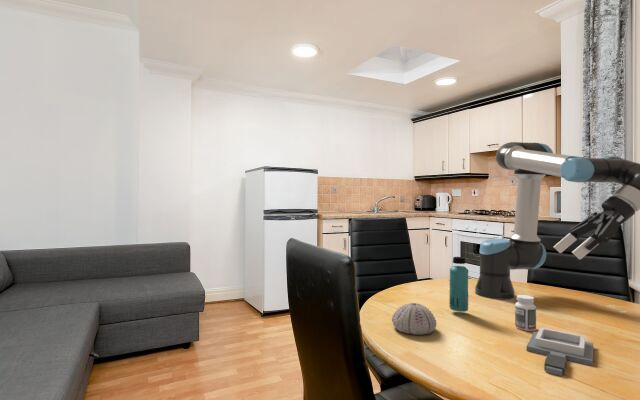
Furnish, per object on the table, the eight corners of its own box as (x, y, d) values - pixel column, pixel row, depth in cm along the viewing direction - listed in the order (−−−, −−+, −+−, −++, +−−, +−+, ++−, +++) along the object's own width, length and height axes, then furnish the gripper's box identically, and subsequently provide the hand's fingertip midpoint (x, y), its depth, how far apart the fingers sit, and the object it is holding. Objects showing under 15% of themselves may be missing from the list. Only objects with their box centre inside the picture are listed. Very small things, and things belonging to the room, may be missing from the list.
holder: (519, 365, 87) (519, 352, 87) (534, 335, 107) (534, 324, 107) (591, 384, 78) (591, 369, 78) (593, 347, 98) (593, 335, 98)
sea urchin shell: (435, 340, 102) (435, 312, 102) (388, 334, 107) (388, 307, 107) (437, 325, 115) (437, 300, 115) (394, 320, 119) (395, 296, 119)
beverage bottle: (469, 312, 129) (469, 256, 129) (468, 317, 123) (468, 259, 123) (449, 309, 131) (450, 255, 131) (448, 314, 125) (448, 257, 125)
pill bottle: (533, 326, 114) (533, 295, 114) (538, 332, 109) (538, 300, 109) (513, 324, 116) (513, 293, 116) (516, 330, 111) (517, 298, 111)
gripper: (663, 214, 93) (596, 269, 97) (610, 212, 117) (559, 256, 121) (639, 193, 95) (574, 248, 98) (592, 196, 119) (541, 239, 122)
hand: (565, 252), depth 109 cm, fingers open, 13 cm apart
